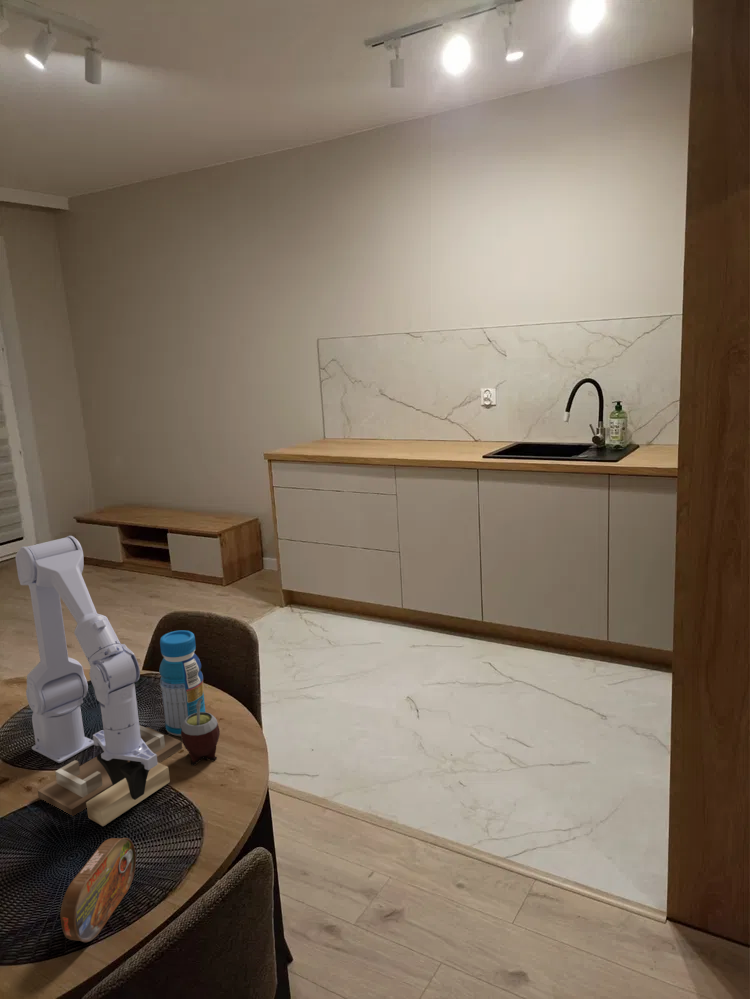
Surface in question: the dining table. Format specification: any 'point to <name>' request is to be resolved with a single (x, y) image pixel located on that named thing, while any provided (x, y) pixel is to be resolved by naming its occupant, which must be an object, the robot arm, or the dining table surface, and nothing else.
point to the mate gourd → (200, 735)
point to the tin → (98, 889)
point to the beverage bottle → (180, 679)
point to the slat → (124, 796)
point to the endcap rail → (97, 775)
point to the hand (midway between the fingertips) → (129, 791)
